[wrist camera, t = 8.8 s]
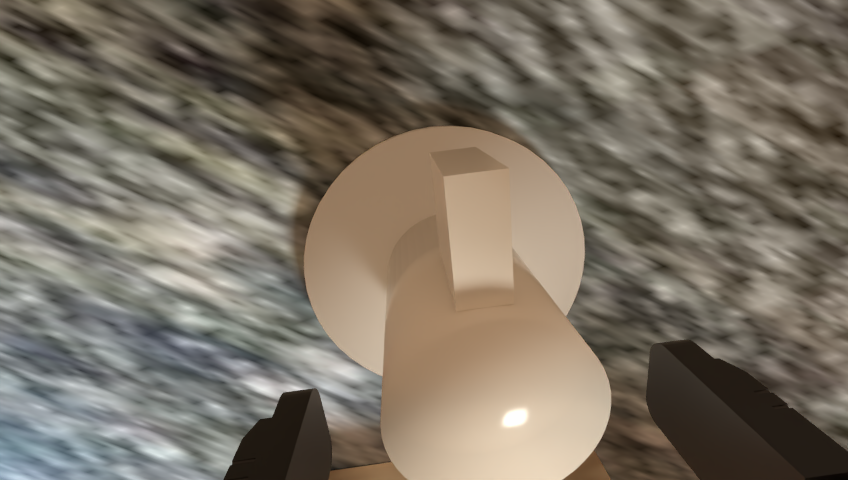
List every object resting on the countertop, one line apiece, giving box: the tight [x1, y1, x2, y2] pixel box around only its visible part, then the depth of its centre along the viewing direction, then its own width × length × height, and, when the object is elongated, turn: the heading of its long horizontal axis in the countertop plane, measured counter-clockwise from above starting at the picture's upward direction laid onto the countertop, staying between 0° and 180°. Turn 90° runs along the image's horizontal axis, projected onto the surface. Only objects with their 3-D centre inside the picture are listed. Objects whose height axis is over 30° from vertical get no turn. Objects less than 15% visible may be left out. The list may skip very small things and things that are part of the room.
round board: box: [304, 125, 585, 376], centre depth 16 cm, size 11×11×1 cm
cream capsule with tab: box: [380, 147, 611, 480], centre depth 12 cm, size 5×8×8 cm, turn 7°
